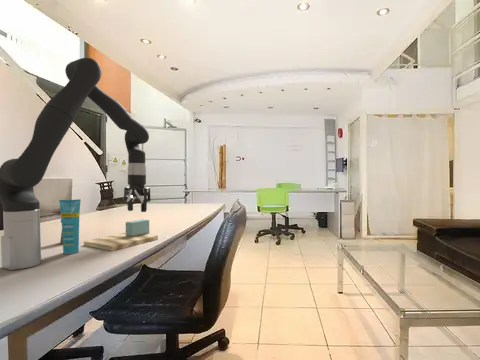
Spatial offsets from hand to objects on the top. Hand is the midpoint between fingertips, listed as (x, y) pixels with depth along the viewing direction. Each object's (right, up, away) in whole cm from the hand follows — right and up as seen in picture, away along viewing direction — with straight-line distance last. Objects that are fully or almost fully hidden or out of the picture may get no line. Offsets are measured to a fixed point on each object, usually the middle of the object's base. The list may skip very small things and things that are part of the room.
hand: (136, 211), depth 131 cm
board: (-4, -12, -6) cm, 14 cm away
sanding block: (0, -10, 0) cm, 10 cm away
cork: (-27, -13, -5) cm, 30 cm away
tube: (-16, -13, -22) cm, 30 cm away
